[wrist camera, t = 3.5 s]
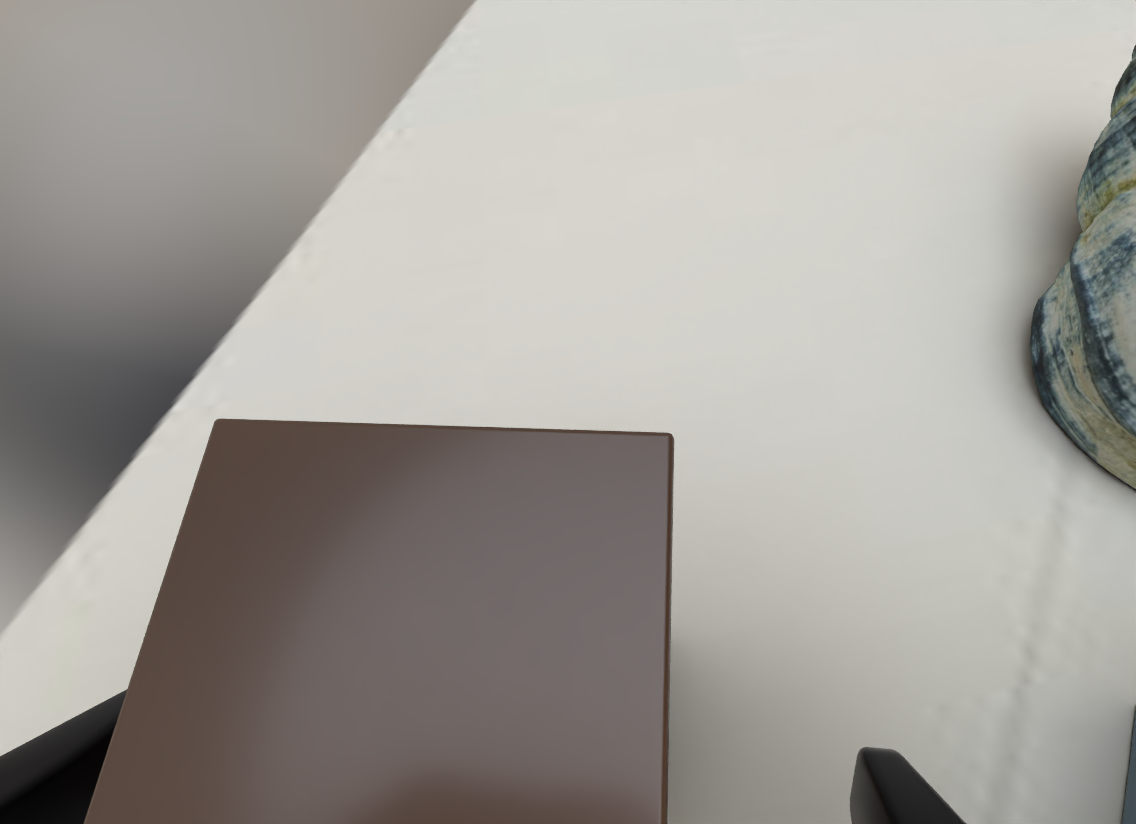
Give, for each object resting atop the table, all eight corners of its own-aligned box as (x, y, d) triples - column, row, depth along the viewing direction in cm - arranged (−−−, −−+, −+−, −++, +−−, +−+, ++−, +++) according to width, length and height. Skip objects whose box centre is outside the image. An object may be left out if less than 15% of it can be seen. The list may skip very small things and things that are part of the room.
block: (653, 823, 15) (662, 1090, 4) (471, 804, 16) (24, 989, 5) (658, 628, 17) (675, 431, 6) (494, 617, 18) (213, 416, 6)
